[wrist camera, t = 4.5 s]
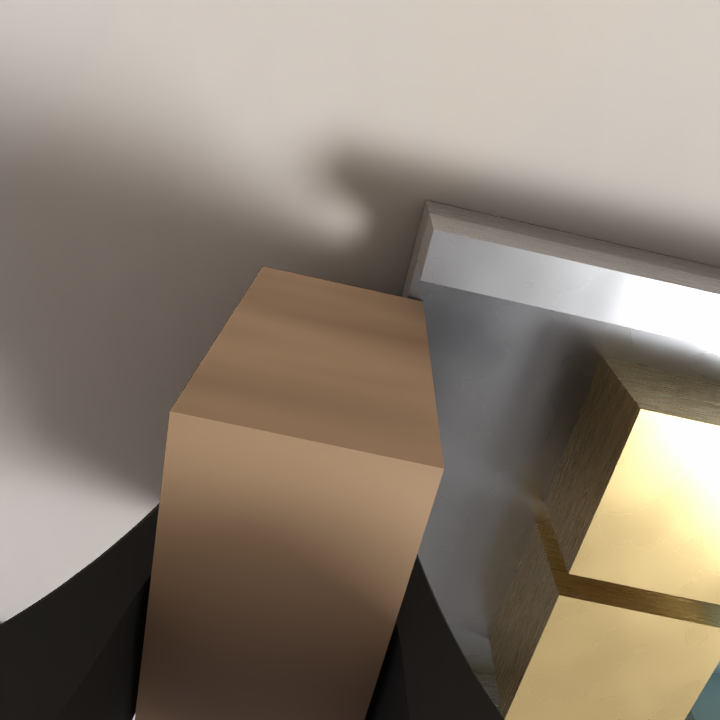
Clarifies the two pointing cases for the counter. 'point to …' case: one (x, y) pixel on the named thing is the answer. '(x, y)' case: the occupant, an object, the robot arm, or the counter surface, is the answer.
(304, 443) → the tan rectangular block
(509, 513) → the slot plate
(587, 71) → the counter surface
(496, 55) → the counter surface
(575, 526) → the brass chip
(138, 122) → the counter surface
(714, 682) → the tray
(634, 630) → the brass chip
